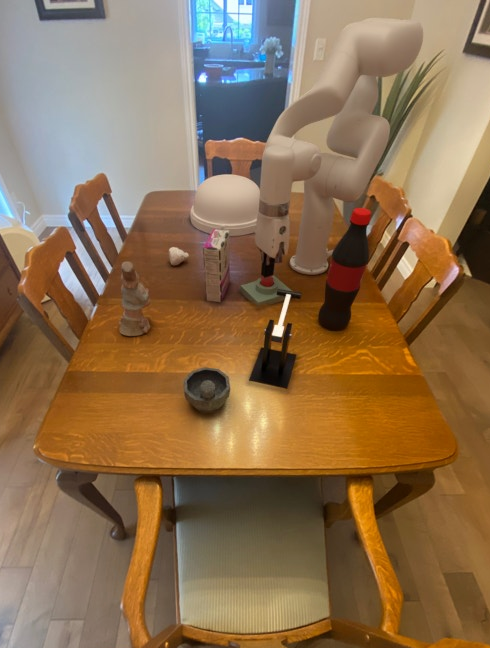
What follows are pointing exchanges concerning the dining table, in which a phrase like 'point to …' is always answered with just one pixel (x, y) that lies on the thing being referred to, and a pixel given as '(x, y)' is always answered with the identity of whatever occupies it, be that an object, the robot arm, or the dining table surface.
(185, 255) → the garlic bulb
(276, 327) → the lever
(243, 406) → the dining table surface
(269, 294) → the control block
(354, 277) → the cola bottle
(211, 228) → the dome cover
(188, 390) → the mortar and pestle
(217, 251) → the candy bar box
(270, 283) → the button
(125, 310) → the figurine
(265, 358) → the bracket
